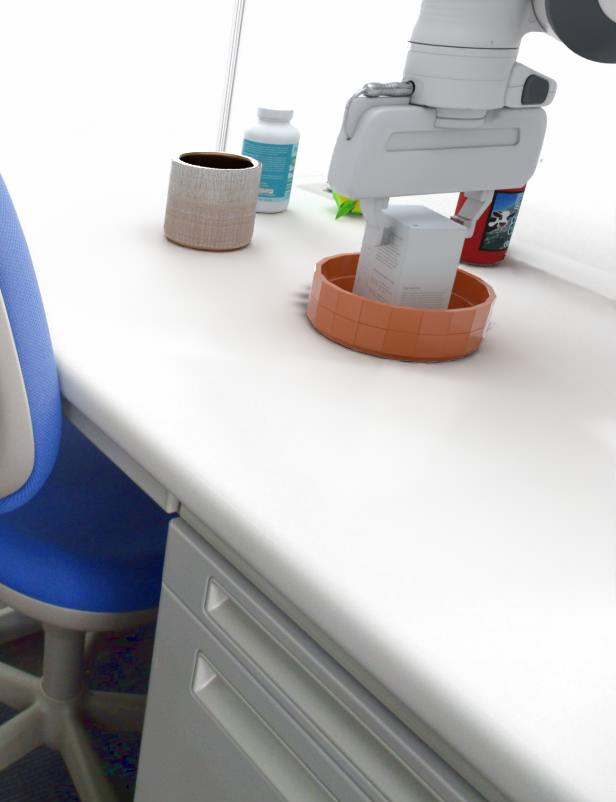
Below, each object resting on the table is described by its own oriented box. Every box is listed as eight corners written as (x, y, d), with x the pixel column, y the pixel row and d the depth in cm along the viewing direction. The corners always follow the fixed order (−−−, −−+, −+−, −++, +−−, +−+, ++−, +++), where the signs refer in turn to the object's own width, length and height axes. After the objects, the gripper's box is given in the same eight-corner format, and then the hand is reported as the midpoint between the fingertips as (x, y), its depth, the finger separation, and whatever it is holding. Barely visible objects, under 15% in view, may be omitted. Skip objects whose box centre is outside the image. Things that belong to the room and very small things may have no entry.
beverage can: (497, 272, 101) (528, 168, 96) (438, 259, 104) (464, 158, 99) (507, 258, 106) (537, 158, 101) (450, 246, 110) (476, 149, 104)
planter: (155, 225, 111) (163, 148, 107) (238, 227, 113) (249, 151, 108) (172, 251, 102) (181, 169, 97) (262, 253, 103) (275, 172, 99)
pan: (403, 292, 93) (414, 247, 91) (519, 353, 80) (536, 302, 78) (274, 305, 88) (282, 257, 86) (375, 373, 75) (388, 319, 72)
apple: (359, 154, 121) (362, 166, 113) (389, 188, 122) (393, 202, 114) (318, 189, 125) (318, 203, 117) (347, 221, 126) (349, 238, 118)
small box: (440, 338, 81) (470, 227, 76) (384, 340, 80) (411, 227, 75) (399, 306, 88) (424, 203, 83) (347, 307, 87) (369, 202, 82)
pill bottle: (294, 215, 119) (311, 112, 113) (241, 213, 118) (256, 110, 112) (279, 201, 126) (294, 103, 119) (228, 199, 125) (242, 101, 119)
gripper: (375, 88, 67) (344, 260, 74) (573, 84, 74) (529, 242, 80) (327, 77, 73) (302, 239, 79) (516, 74, 79) (478, 223, 86)
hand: (418, 240), depth 80 cm, fingers open, 8 cm apart
